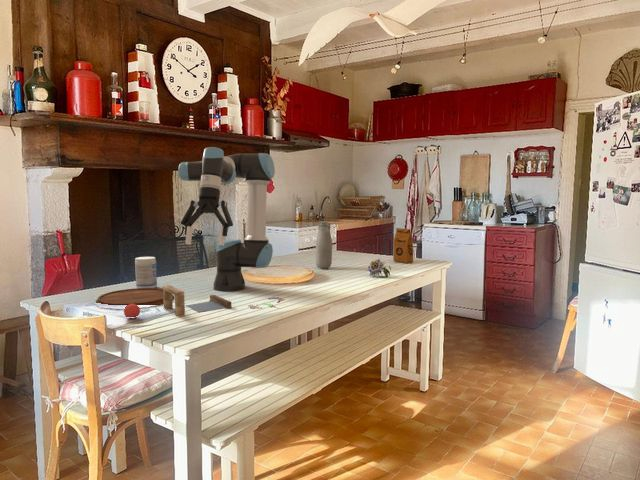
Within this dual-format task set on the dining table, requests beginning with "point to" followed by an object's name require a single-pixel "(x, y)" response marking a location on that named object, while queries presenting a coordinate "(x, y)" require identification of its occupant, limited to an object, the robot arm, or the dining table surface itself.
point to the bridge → (178, 299)
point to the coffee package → (403, 246)
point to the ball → (131, 310)
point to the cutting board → (133, 297)
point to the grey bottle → (324, 246)
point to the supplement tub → (146, 272)
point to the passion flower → (378, 268)
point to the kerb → (220, 301)
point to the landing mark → (205, 306)
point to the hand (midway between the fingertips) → (204, 244)
